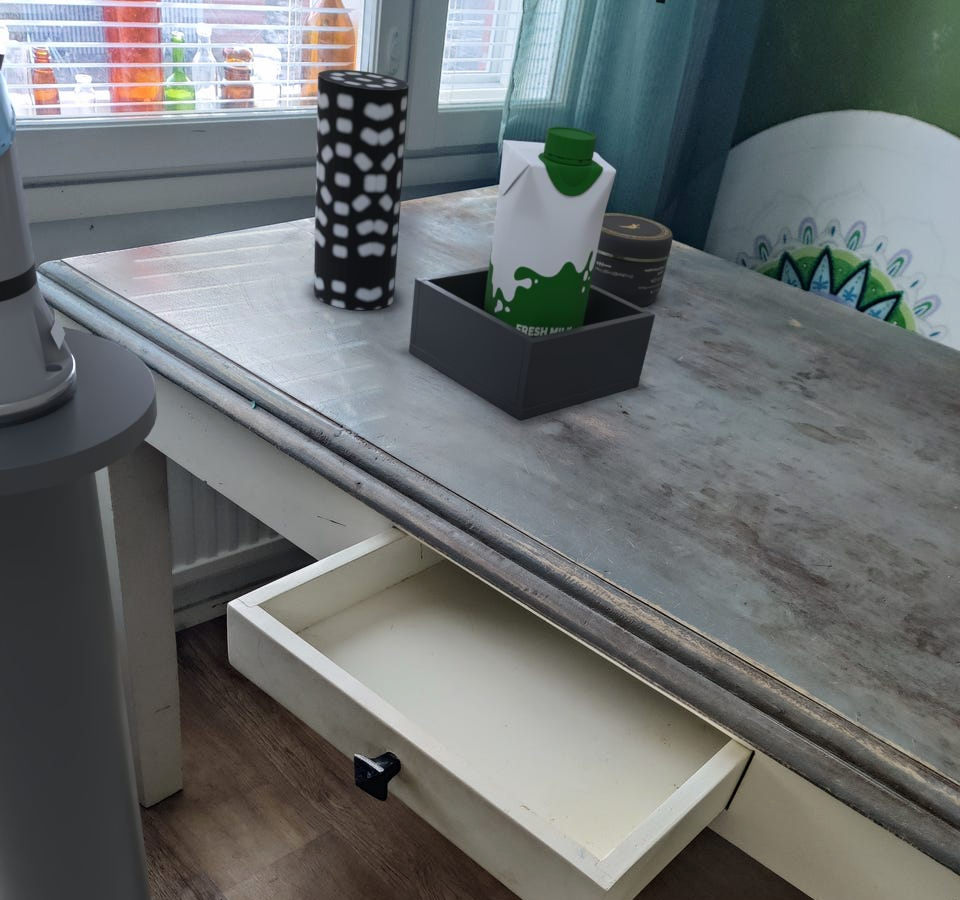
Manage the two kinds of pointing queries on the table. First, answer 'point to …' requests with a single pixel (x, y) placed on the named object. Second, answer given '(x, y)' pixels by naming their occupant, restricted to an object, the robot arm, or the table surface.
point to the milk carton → (547, 231)
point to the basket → (526, 346)
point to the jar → (631, 257)
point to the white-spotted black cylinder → (358, 187)
